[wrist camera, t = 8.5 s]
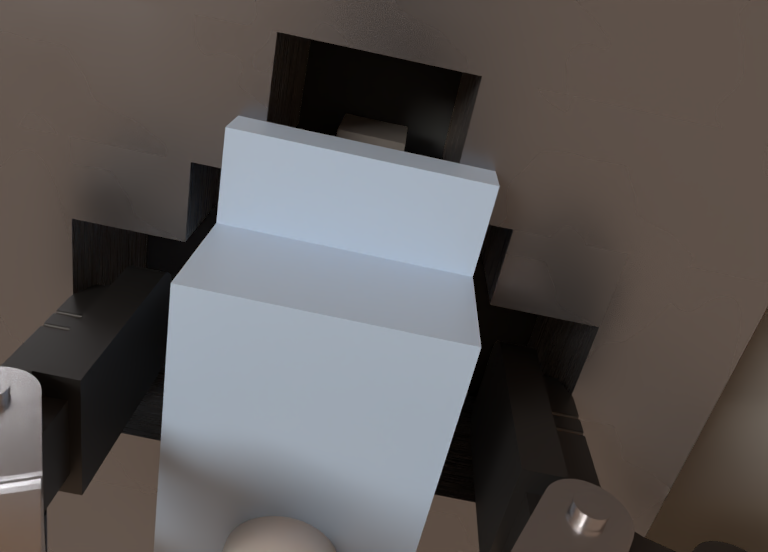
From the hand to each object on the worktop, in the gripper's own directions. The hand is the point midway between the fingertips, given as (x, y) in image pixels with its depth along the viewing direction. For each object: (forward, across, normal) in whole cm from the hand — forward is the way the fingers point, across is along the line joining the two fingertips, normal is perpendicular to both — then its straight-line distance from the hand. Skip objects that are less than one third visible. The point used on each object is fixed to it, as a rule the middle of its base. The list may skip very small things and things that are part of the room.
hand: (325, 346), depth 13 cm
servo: (+2, 0, 0) cm, 2 cm away
